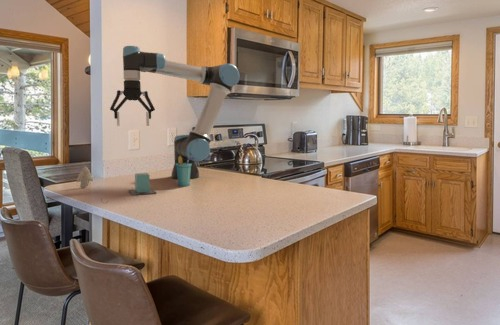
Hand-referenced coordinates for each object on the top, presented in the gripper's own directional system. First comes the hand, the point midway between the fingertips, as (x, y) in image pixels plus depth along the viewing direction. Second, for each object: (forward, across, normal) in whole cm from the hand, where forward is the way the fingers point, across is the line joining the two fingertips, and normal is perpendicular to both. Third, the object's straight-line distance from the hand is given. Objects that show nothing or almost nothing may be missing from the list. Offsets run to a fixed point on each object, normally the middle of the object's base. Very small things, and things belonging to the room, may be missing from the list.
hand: (133, 125), depth 186 cm
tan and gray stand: (+29, 0, +19) cm, 34 cm away
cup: (+29, -22, +10) cm, 38 cm away
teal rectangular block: (+28, 0, +19) cm, 34 cm away
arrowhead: (+29, +22, -3) cm, 36 cm away
